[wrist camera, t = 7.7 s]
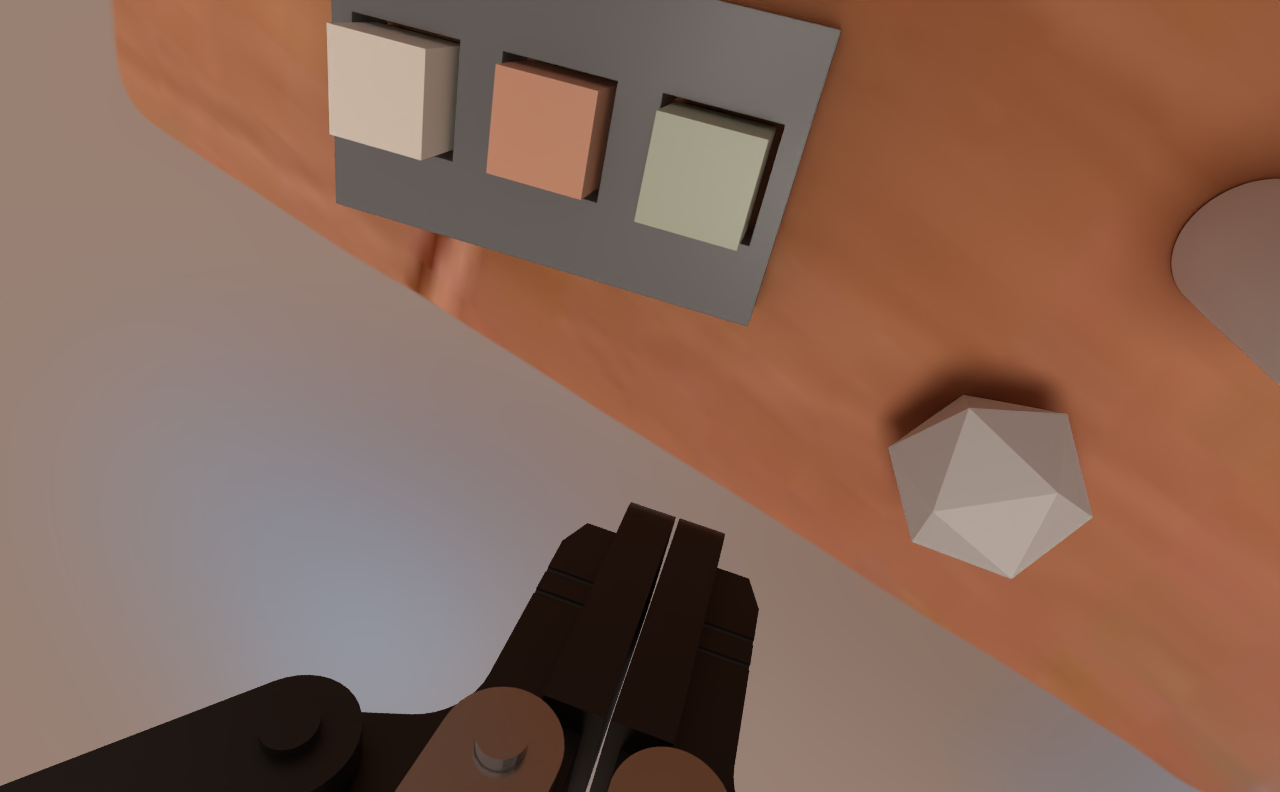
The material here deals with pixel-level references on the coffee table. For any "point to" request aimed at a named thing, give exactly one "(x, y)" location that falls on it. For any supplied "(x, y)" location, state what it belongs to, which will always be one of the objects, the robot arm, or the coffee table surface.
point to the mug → (1236, 268)
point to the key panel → (647, 80)
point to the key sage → (703, 173)
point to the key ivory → (392, 88)
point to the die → (991, 483)
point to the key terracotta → (549, 127)
